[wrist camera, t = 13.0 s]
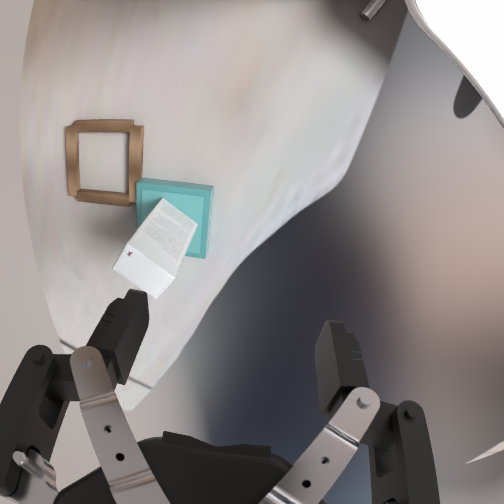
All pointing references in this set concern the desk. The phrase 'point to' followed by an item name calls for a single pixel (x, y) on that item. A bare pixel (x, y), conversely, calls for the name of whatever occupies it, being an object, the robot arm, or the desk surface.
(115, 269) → the skincare box
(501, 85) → the monitor stand
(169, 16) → the desk surface
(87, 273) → the desk surface
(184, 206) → the tile
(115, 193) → the wooden square frame
